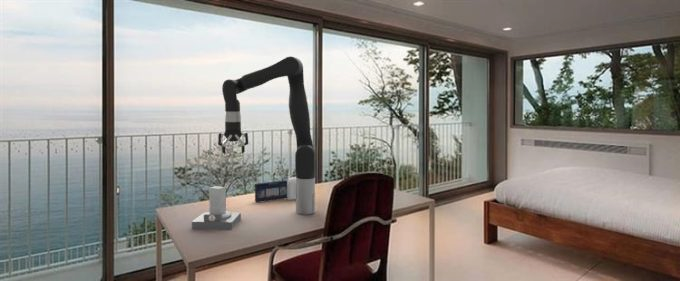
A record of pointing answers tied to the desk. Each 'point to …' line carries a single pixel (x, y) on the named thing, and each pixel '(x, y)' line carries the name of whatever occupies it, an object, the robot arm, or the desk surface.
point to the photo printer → (291, 188)
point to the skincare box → (217, 199)
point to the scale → (216, 220)
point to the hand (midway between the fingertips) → (233, 153)
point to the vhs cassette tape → (270, 191)
